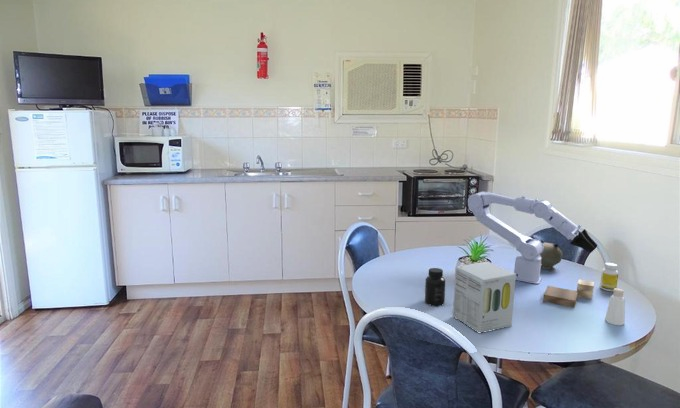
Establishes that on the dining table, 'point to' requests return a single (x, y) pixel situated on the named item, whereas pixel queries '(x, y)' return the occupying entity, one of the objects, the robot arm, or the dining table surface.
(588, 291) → the maple block
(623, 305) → the salt shaker
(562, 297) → the walnut block
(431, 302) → the supplement bottle
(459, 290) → the supplement box
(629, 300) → the dining table surface
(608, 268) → the supplement bottle
